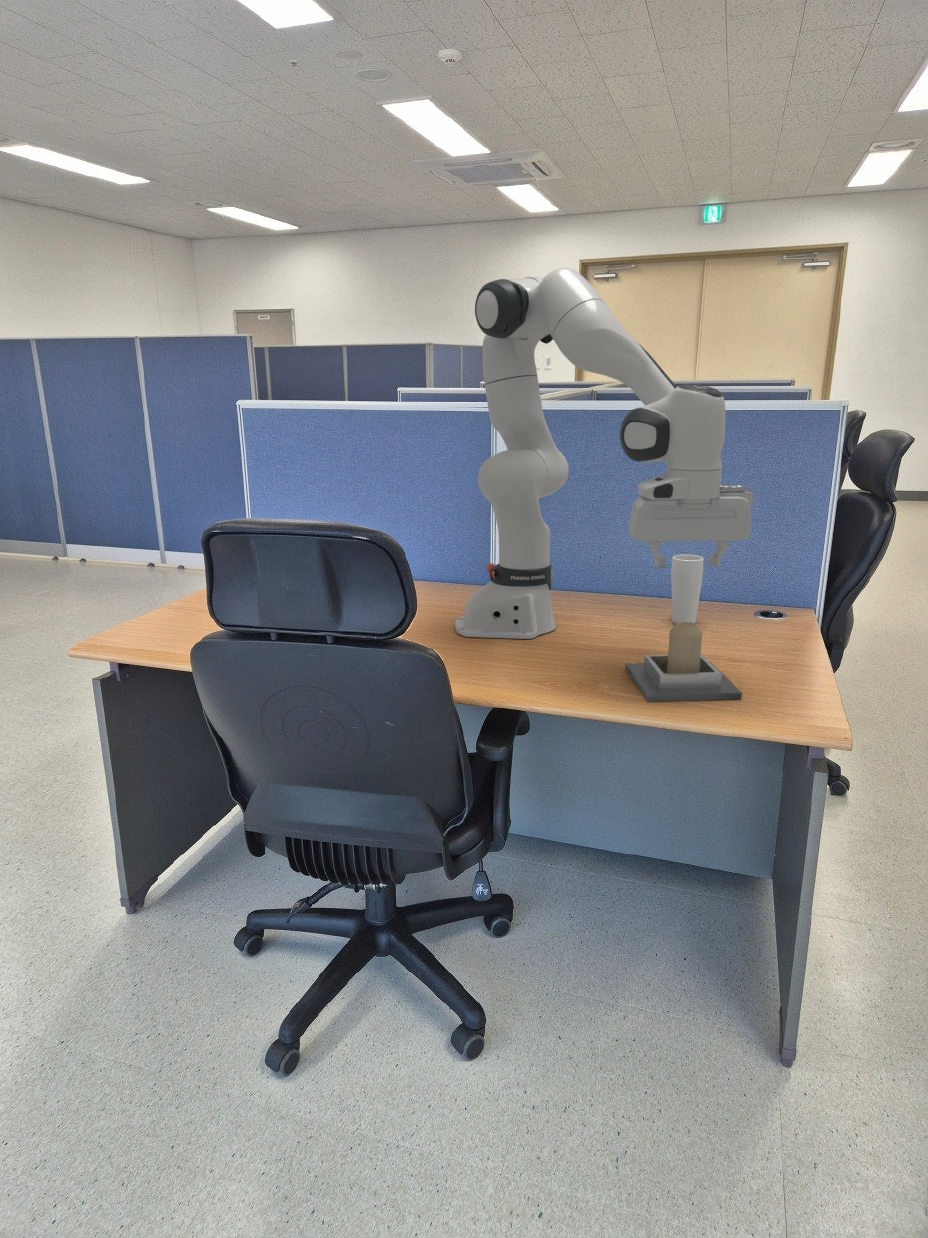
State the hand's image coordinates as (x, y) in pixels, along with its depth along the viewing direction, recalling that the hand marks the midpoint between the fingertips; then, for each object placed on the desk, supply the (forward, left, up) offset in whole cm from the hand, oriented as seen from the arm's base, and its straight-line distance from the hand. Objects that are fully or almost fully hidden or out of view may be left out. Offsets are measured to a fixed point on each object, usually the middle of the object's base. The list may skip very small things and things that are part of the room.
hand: (686, 566), depth 135 cm
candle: (0, -1, -20) cm, 20 cm away
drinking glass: (+12, +36, -21) cm, 43 cm away
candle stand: (0, -1, -21) cm, 21 cm away
